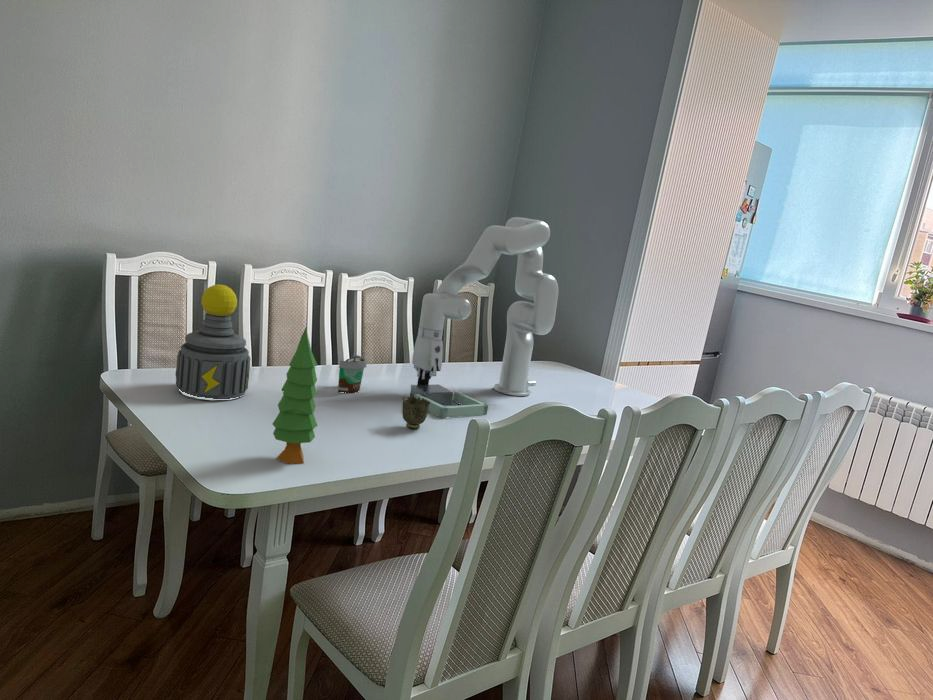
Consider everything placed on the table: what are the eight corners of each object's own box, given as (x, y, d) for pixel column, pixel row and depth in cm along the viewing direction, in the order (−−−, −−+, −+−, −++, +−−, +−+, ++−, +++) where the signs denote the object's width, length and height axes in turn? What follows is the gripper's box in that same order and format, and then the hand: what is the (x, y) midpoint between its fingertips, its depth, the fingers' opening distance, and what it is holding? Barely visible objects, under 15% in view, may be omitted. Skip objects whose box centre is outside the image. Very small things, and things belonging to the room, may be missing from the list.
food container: (355, 397, 219) (359, 364, 217) (335, 393, 220) (339, 360, 218) (368, 388, 231) (372, 357, 229) (350, 385, 232) (354, 354, 230)
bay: (456, 400, 232) (458, 391, 232) (486, 414, 222) (488, 405, 221) (413, 403, 221) (414, 394, 221) (442, 418, 211) (444, 408, 210)
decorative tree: (277, 467, 156) (292, 329, 150) (261, 452, 163) (275, 320, 158) (320, 464, 162) (335, 330, 156) (302, 449, 169) (317, 321, 164)
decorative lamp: (247, 386, 214) (257, 284, 208) (246, 404, 196) (256, 293, 190) (178, 380, 208) (187, 276, 203) (170, 399, 191) (179, 285, 185)
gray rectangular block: (436, 398, 233) (438, 384, 232) (451, 406, 226) (453, 392, 226) (409, 398, 227) (411, 384, 226) (423, 407, 221) (425, 392, 220)
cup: (412, 422, 202) (416, 394, 201) (431, 430, 198) (436, 402, 196) (393, 426, 196) (396, 397, 195) (412, 434, 192) (417, 405, 191)
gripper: (454, 339, 225) (445, 396, 229) (426, 328, 236) (418, 383, 240) (434, 339, 221) (426, 397, 224) (406, 328, 232) (399, 384, 235)
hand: (422, 390), depth 232 cm, fingers closed
